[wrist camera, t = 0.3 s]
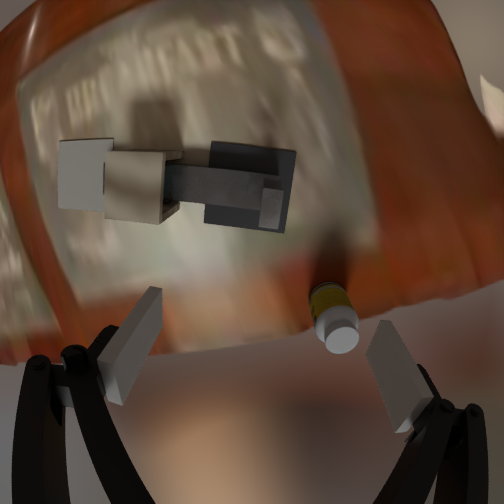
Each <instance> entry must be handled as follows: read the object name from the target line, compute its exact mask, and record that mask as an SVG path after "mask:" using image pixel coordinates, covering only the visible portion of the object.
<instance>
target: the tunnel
mask: <svg viewBox="0 0 504 504" xmlns="http://www.w3.org/2000/svg"><path fill="white" fill-rule="evenodd" d="M183 155H184V151H171V150H145V149H131V150H117V151H106V159H105V189H104V210H105V219H113V220H122V221H131V222H140V223H148V224H157V225H159V224H161V223H162V222H163V221H165V220H166V219H167V218H169V217H170V216H171V215H173V214H174V213H175V212H177V211H178V210H179V207H180V203H175V202H165V201H163V186H164V171H165V161H166V160H172V159H179V158H183Z"/></svg>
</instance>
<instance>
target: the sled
mask: <svg viewBox="0 0 504 504" xmlns="http://www.w3.org/2000/svg"><path fill="white" fill-rule="evenodd" d="M279 178H280V176H279V175H278V174H270V173H263V172H255V171H247V170H239V169H229V168H220V167H209V166H198V165H185V164H171V163H165V171H164V186H163V199H164V200H174V201H184V202H194V203H203V204H212V205H220V206H229V207H237V208H245V209H253V210H260V216H259V226H258V227H263V228H270V229H278V227H279V220H280V213H281V207H282V200H283V193H284V190H283V187H282V185H281V183H280V180H279ZM104 189H105V162H104V165H103V195H104Z"/></svg>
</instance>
